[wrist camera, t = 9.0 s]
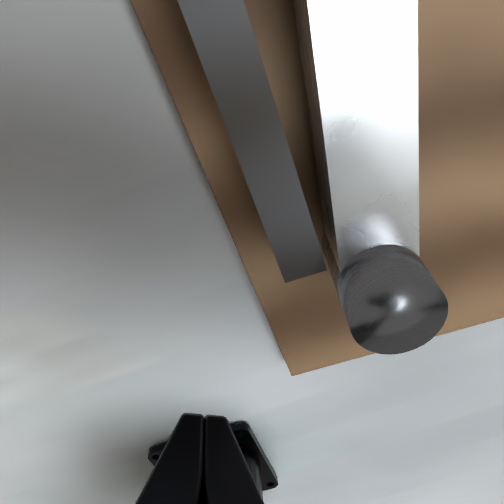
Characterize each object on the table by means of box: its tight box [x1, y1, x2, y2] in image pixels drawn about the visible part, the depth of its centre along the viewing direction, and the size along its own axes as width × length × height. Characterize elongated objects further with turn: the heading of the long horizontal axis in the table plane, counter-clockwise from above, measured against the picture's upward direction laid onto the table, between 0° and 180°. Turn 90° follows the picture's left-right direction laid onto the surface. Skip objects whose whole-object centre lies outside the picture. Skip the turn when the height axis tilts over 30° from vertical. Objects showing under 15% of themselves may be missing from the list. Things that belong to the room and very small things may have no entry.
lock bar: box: [293, 0, 448, 354], centre depth 14 cm, size 14×3×5 cm, turn 12°
